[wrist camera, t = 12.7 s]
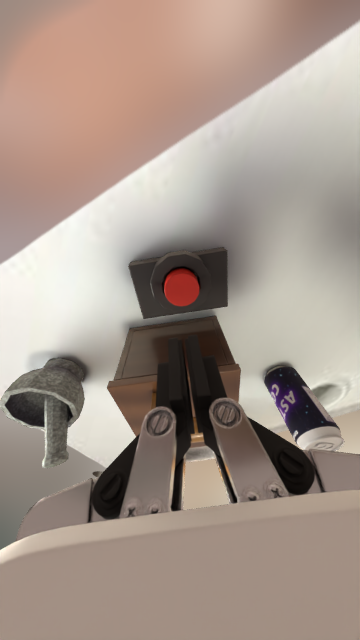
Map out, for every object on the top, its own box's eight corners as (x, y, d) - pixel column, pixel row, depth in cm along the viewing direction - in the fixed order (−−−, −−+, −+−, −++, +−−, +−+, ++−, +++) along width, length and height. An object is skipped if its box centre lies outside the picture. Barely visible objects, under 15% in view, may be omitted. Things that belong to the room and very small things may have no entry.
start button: (195, 265, 20) (197, 270, 18) (198, 296, 22) (200, 303, 20) (161, 271, 20) (161, 276, 18) (167, 301, 22) (167, 308, 20)
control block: (223, 240, 21) (232, 246, 18) (224, 300, 26) (231, 313, 23) (128, 255, 22) (122, 263, 19) (144, 312, 26) (141, 326, 23)
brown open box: (129, 328, 27) (113, 379, 19) (216, 315, 27) (235, 363, 19) (151, 391, 35) (146, 447, 27) (219, 382, 35) (233, 436, 27)
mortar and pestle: (18, 366, 30) (-59, 450, 20) (58, 340, 28) (-5, 420, 18) (74, 401, 35) (36, 481, 25) (112, 381, 33) (87, 461, 23)
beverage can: (272, 360, 32) (319, 433, 22) (300, 365, 33) (358, 437, 23) (256, 382, 35) (292, 455, 25) (283, 386, 36) (327, 458, 26)
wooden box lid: (108, 380, 18) (89, 442, 14) (238, 363, 18) (262, 420, 13) (146, 447, 27) (142, 497, 23) (234, 436, 27) (247, 485, 22)
